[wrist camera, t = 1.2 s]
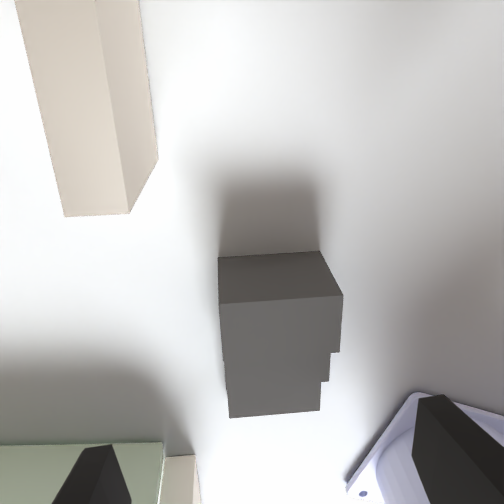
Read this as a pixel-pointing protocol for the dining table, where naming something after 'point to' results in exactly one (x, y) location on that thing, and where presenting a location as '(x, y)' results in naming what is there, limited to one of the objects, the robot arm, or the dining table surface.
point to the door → (62, 461)
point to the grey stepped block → (277, 331)
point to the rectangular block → (98, 126)
